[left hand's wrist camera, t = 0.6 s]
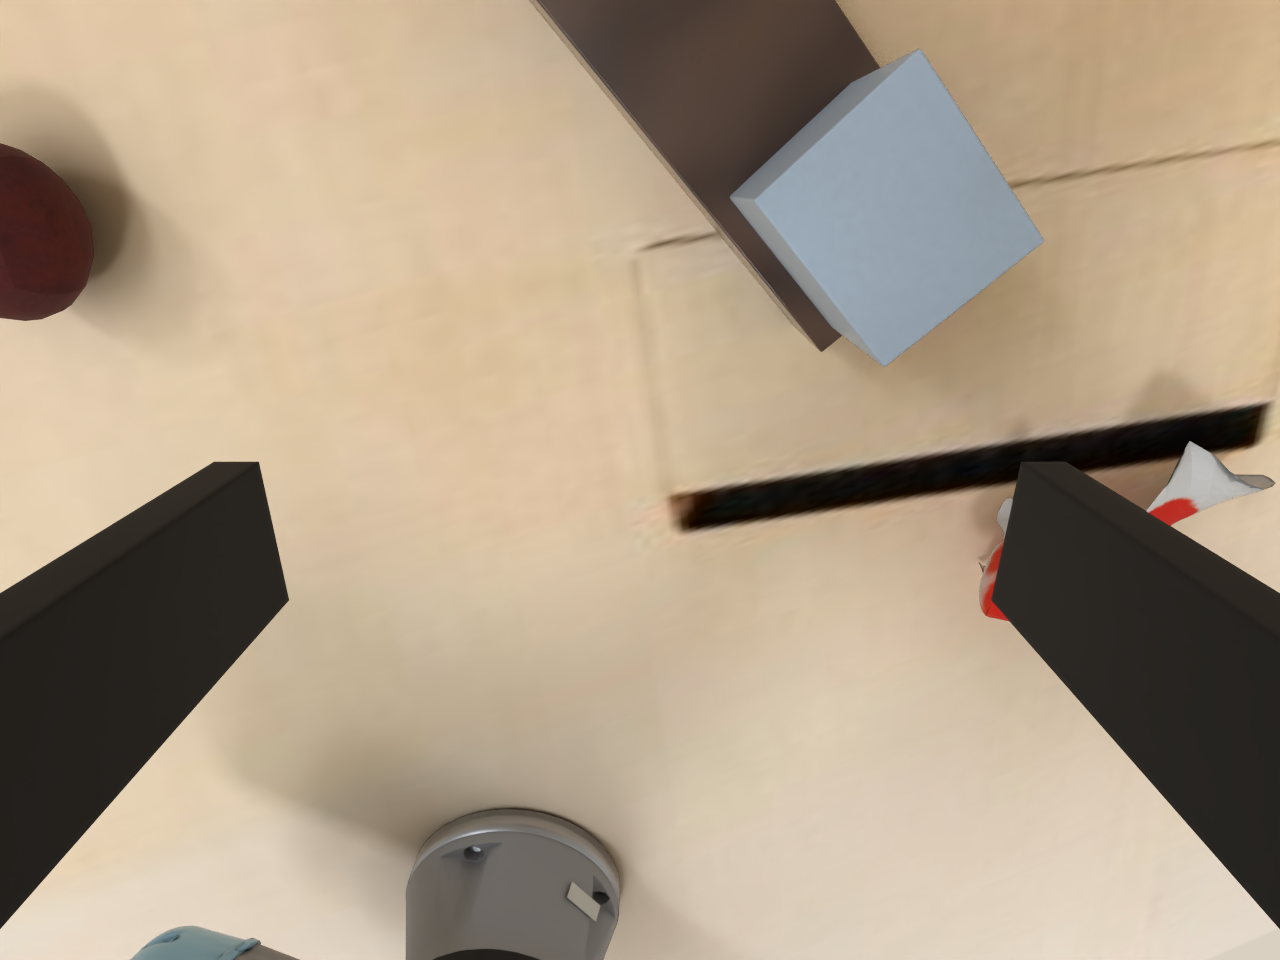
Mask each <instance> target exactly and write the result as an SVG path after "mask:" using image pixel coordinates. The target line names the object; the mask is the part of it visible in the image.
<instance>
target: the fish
mask: <svg viewBox="0 0 1280 960" xmlns="http://www.w3.org/2000/svg"><path fill="white" fill-rule="evenodd" d="M1274 484H1275V482H1274V481H1273V480H1272V479H1271V478H1269V477H1266V476H1264V475H1234V474H1233V473H1231V472H1230V471H1229V470H1228V469H1227V468H1226V467H1225V466H1224V465H1223V464H1222V463H1221V462H1220V461H1219V460H1218V459H1217V458H1216V457H1215V455H1213V454H1211V453H1210V452H1208V451H1206V450H1204V449H1203V448H1201V447H1199V446H1197V445H1196V444H1194V443H1192V442H1191V441H1189V443H1188V445H1187V446H1186V448H1185V450H1184V452H1183V453H1182V455H1181V457H1180V459H1179V461H1178V463H1177V465H1176V468H1175V470H1174V472H1173V474H1172V476H1171V478H1170V480H1169V482H1168V484H1167V485H1166V487H1165V488H1164V489H1163V490H1162V492H1161V493H1160V494H1159V495H1158V497H1157V498H1156V499H1155V501H1154V502H1153V503H1152V504H1151V505H1150V507H1149V508H1148V509H1147V510H1146V511H1147V512H1148V513H1150V514H1151V515H1153V516H1155V517H1156V518H1158V519H1160V520H1161V521H1163V522H1164V523H1166V524H1168V525H1169V526H1171V525H1172V524H1173V523H1175V522H1177V521H1179V520H1181V519H1184V518H1186V517H1189V516H1191V515H1193V514H1195V513H1197V512H1200V511H1202V510H1204V509H1206V508H1208V507H1211V506H1213V505H1216V504H1218V503H1221V502H1224V501H1227V500H1229V499H1232V498H1235V497H1239V496H1243V495H1248V494H1252V493H1255V492H1259V491H1262V490H1264V489H1267V488H1269V487H1272V486H1273V485H1274ZM1012 502H1013V499H1012V498H1007V499H1005V501H1004V502H1003V504H1002V506H1001V508H1000V510H999V512H998V515H997V521H998V524H999V526H1000V527H1001V529H1002V530H1003V533H1004V538H1005V534H1006V529H1007V525H1008V520H1009V516H1010V511H1011V506H1012ZM1003 543H1004V539H1003V540H1002V541H1001V542H1000V543H999V544H997V545H996V547H995V548H994V550H993V551H992V553H991V555H990V557H989V559H988V562H987V564H986V566H982V565H981V564H980V563H979V564H980V566H981V568H982V571H983V576H982V579H981V583H980V589H979V598H980V606H981V609H982V611H983V613H984V614H985V615H986V616H988V617H992V618H997V619H1001V620H1006V621H1009V620H1008V619H1007V618H1006V617H1005V615H1004V614H1003V613H1002V612H1001V611H1000V610H999V609H998V607H997V606H996V605H995V604H994V603H993V602H992V601H991V598H992V593H993V589H994V584H995V580H996V575H997V570H998V566H999V561H1000V557H1001V552H1002V548H1003Z"/></svg>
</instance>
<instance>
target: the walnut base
mask: <svg viewBox="0 0 1280 960" xmlns="http://www.w3.org/2000/svg"><path fill="white" fill-rule="evenodd" d="M529 1H530V2H531V3H532V4H533V6H534V7H535V8H536V9H537V11H538V12H539V13H540V14H541V15H542V17H543V18H544V19H545V20H546V22H547V23H548V24H549V25H550V27H551V28H552V29H553V30H554V31H555V33H556V34H557V35H558V36H559V38H560V39H561V40H562V41H563V43H564V44H565V45H566V46H567V47H568V49H569V50H570V51H571V52H572V54H573V55H574V56H575V57H576V59H577V60H578V61H579V62H580V63H581V65H582V66H583V67H584V68H585V70H586V71H587V72H588V73H589V75H590V76H591V77H592V78H593V79H594V81H595V82H596V83H597V84H598V86H599V87H600V88H601V89H602V91H603V92H604V93H605V94H606V95H607V97H608V98H609V99H610V100H611V102H612V103H613V104H614V105H615V107H616V108H617V109H618V110H619V111H620V113H621V114H622V115H623V116H624V118H625V119H626V120H627V121H628V123H629V124H630V125H631V126H632V127H633V129H634V130H635V131H636V132H637V134H638V135H639V136H640V137H641V139H642V140H643V141H644V142H645V143H646V145H647V146H648V147H649V148H650V150H651V151H652V152H653V153H654V155H655V156H656V157H657V158H658V159H659V161H660V162H661V163H662V164H663V166H664V167H665V168H666V169H667V171H668V172H669V173H670V174H671V175H672V177H673V178H674V179H675V180H676V182H677V183H678V184H679V185H680V187H681V188H682V189H683V190H684V191H685V193H686V194H687V195H688V196H689V198H690V199H691V200H692V201H693V203H694V204H695V205H696V206H697V207H698V209H699V210H700V211H701V212H702V214H703V215H704V216H705V217H706V219H707V220H708V221H709V222H710V223H711V225H712V226H713V227H714V228H715V230H716V231H717V232H718V233H719V235H720V236H721V237H722V238H723V239H724V241H725V242H726V243H727V244H728V246H729V247H730V248H731V249H732V251H733V252H734V253H735V254H736V255H737V257H738V258H739V259H740V260H741V262H742V263H743V264H744V265H745V267H746V268H747V269H748V270H749V271H750V273H751V274H752V275H753V276H754V278H755V279H756V280H757V281H758V283H759V284H760V285H761V286H762V287H763V289H764V290H765V291H766V292H767V294H768V295H769V296H770V297H771V299H772V300H773V301H774V302H775V303H776V305H777V306H778V307H779V308H780V310H781V311H782V312H783V313H784V315H785V316H786V317H787V318H788V319H789V321H790V322H791V323H792V324H793V326H794V327H795V328H796V329H798V330H799V331H800V332H801V333H802V334H803V335H804V336H805V337H806V338H807V339H808V340H809V341H810V342H811V343H812V344H813V345H814V346H815V347H816V348H817V349H818V350H819V351H821V352H822V351H824V350H825V349H826V348H827V347H829V346H830V345H831V344H832V343H833V342H835V341H836V340H837V339H838V338H840V337H841V336H842V335H841V334H840V333H839V332H837V331H836V330H835V329H833V328H832V327H831V325H830V324H829V323H828V322H827V320H826V319H825V318H824V317H823V315H822V314H821V313H820V312H819V310H818V309H817V308H816V307H815V305H814V304H813V303H812V301H811V300H810V299H809V298H808V296H807V295H806V294H805V293H804V291H803V290H802V289H801V288H800V286H799V285H798V284H797V283H796V281H795V280H794V279H793V278H792V276H791V275H790V274H789V272H788V271H787V270H786V269H785V267H784V266H783V265H782V264H781V262H780V261H779V260H778V259H777V257H776V256H775V255H774V254H773V252H772V251H771V250H770V248H769V247H768V246H767V245H766V243H765V242H764V241H763V240H762V238H761V237H760V236H759V235H758V233H757V232H756V231H755V230H754V228H753V227H752V226H751V224H750V223H749V222H748V221H747V219H746V218H745V217H744V216H743V214H742V213H741V212H740V211H739V209H738V208H737V207H736V206H735V204H734V203H733V202H732V201H731V199H730V196H731V195H732V194H733V193H734V192H735V191H736V190H737V189H738V188H739V187H740V186H741V185H742V184H743V183H744V182H746V181H747V180H748V179H749V178H750V177H751V176H752V175H753V174H754V173H755V172H756V171H757V170H758V169H759V168H761V167H762V166H763V165H764V164H765V163H766V162H767V161H768V160H769V159H770V158H771V157H772V156H773V155H774V154H776V153H777V152H778V151H779V150H780V149H781V148H782V147H783V146H784V145H785V144H786V143H787V142H788V141H789V140H791V139H792V138H793V137H794V136H795V135H796V134H797V133H798V132H799V131H800V130H801V129H802V128H803V127H804V126H806V125H807V124H808V123H809V122H810V121H811V120H812V119H813V118H814V117H815V116H816V115H817V114H818V113H819V112H821V111H822V110H823V109H824V108H825V107H826V106H827V105H828V104H829V103H830V102H831V101H832V100H833V99H834V98H836V97H837V96H838V95H839V94H840V93H841V92H842V91H843V90H844V89H845V88H846V87H847V86H848V85H849V84H851V83H852V82H854V81H856V80H858V79H860V78H862V77H864V76H866V75H868V74H870V73H872V72H874V71H875V70H877V69H879V68H880V67H879V65H878V64H877V62H876V61H875V59H874V58H873V56H872V55H871V53H870V52H869V50H868V49H867V47H866V46H865V44H864V43H863V41H862V40H861V38H860V37H859V35H858V34H857V32H856V31H855V29H854V28H853V26H852V25H851V23H850V22H849V20H848V19H847V17H846V16H845V14H844V13H843V11H842V10H841V8H840V7H839V5H838V4H837V2H836V1H835V0H529Z"/></svg>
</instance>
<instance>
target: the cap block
mask: <svg viewBox="0 0 1280 960" xmlns="http://www.w3.org/2000/svg"><path fill="white" fill-rule="evenodd" d="M730 199H731V201H732V202H733V203H734V204H735V206H736V207H737V208H738V209H739V211H740V212H741V213H742V214H743V216H744V217H745V218H746V219H747V221H748V222H749V223H750V224H751V226H752V227H753V228H754V230H755V231H756V232H757V233H758V235H759V236H760V237H761V238H762V240H763V241H764V242H765V243H766V245H767V246H768V247H769V248H770V250H771V251H772V252H773V254H774V255H775V256H776V257H777V259H778V260H779V261H780V262H781V264H782V265H783V266H784V267H785V269H786V270H787V271H788V272H789V274H790V275H791V276H792V278H793V279H794V280H795V281H796V283H797V284H798V285H799V286H800V288H801V289H802V290H803V291H804V293H805V294H806V295H807V296H808V298H809V299H810V300H811V301H812V303H813V304H814V305H815V307H816V308H817V309H818V310H819V312H820V313H821V314H822V315H823V317H824V318H825V319H826V320H827V322H828V323H829V324H830V325H831V327H832V328H833V329H835V330H836V331H837V332H839V333H840V334H841V335H843V336H844V337H845V338H847V339H848V340H849V341H850V342H852V343H853V344H854V345H856V346H857V347H858V348H860V349H861V350H862V351H863V352H865V353H866V354H867V355H869V356H870V357H871V358H873V359H874V360H875V361H877V362H878V363H879V364H880V365H882V366H884V367H885V366H887V365H888V364H889V363H890V362H892V361H893V360H894V359H896V358H897V357H898V356H899V355H901V354H902V353H903V352H904V351H906V350H907V349H908V348H909V347H911V346H912V345H913V344H915V343H916V342H917V341H918V340H920V339H921V338H922V337H923V336H925V335H926V334H927V333H929V332H930V331H931V330H932V329H934V328H935V327H936V326H937V325H939V324H940V323H941V322H942V321H944V320H945V319H946V318H948V317H949V316H950V315H951V314H953V313H954V312H955V311H956V310H958V309H959V308H960V307H962V306H963V305H964V304H965V303H967V302H968V301H969V300H970V299H972V298H973V297H974V296H975V295H977V294H978V293H979V292H981V291H982V290H983V289H984V288H986V287H987V286H988V285H989V284H991V283H992V282H993V281H995V280H996V279H997V278H998V277H1000V276H1001V275H1002V274H1003V273H1005V272H1006V271H1007V270H1009V269H1010V268H1011V267H1012V266H1014V265H1015V264H1016V263H1017V262H1019V261H1020V260H1021V259H1022V258H1024V257H1025V256H1026V255H1028V254H1029V253H1030V252H1031V251H1033V250H1034V249H1035V248H1036V247H1038V246H1039V245H1040V244H1042V243H1043V241H1044V239H1043V237H1042V236H1041V234H1040V233H1039V231H1038V230H1037V228H1036V227H1035V225H1034V223H1033V222H1032V220H1031V219H1030V217H1029V216H1028V214H1027V213H1026V211H1025V210H1024V208H1023V206H1022V205H1021V203H1020V202H1019V200H1018V199H1017V197H1016V196H1015V194H1014V193H1013V191H1012V189H1011V188H1010V186H1009V185H1008V183H1007V182H1006V180H1005V179H1004V177H1003V175H1002V174H1001V172H1000V171H999V169H998V168H997V166H996V165H995V163H994V162H993V160H992V158H991V157H990V155H989V154H988V152H987V151H986V149H985V148H984V146H983V145H982V143H981V141H980V140H979V138H978V137H977V135H976V134H975V132H974V131H973V129H972V127H971V126H970V124H969V123H968V121H967V120H966V118H965V117H964V115H963V114H962V112H961V110H960V109H959V107H958V106H957V104H956V103H955V101H954V100H953V98H952V96H951V95H950V93H949V92H948V90H947V89H946V87H945V86H944V84H943V83H942V81H941V79H940V78H939V76H938V75H937V73H936V72H935V70H934V69H933V67H932V66H931V64H930V62H929V61H928V59H927V58H926V56H925V55H924V53H923V52H922V50H921V49H917V50H915V51H913V52H911V53H909V54H907V55H905V56H903V57H901V58H899V59H897V60H895V61H893V62H891V63H889V64H887V65H885V66H883V67H881V68H879V69H877V70H875V71H874V72H872V73H870V74H868V75H866V76H864V77H862V78H860V79H858V80H856V81H854V82H852V83H851V84H849V85H848V86H847V87H846V88H845V89H844V90H843V91H842V92H841V93H840V94H839V95H838V96H837V97H836V98H834V99H833V100H832V101H831V102H830V103H829V104H828V105H827V106H826V107H825V108H824V109H823V110H822V111H821V112H819V113H818V114H817V115H816V116H815V117H814V118H813V119H812V120H811V121H810V122H809V123H808V124H807V125H806V126H804V127H803V128H802V129H801V130H800V131H799V132H798V133H797V134H796V135H795V136H794V137H793V138H792V139H791V140H789V141H788V142H787V143H786V144H785V145H784V146H783V147H782V148H781V149H780V150H779V151H778V152H777V153H776V154H774V155H773V156H772V157H771V158H770V159H769V160H768V161H767V162H766V163H765V164H764V165H763V166H762V167H761V168H759V169H758V170H757V171H756V172H755V173H754V174H753V175H752V176H751V177H750V178H749V179H748V180H747V181H746V182H744V183H743V184H742V185H741V186H740V187H739V188H738V189H737V190H736V191H735V192H734V193H733V194H732V195H731V196H730Z"/></svg>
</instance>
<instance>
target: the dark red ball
mask: <svg viewBox="0 0 1280 960" xmlns="http://www.w3.org/2000/svg"><path fill="white" fill-rule="evenodd" d="M93 257H94V250H93V241H92V232H91V224H90V222H89V220H88V218H87V216H86V214H85V211H84V209H83V207H82V205H81V203H80V201H79V199H78V198H77V197H76V195H75V194H74V193H73V192H72V190H71V189H70V188H69V186H68V185H67V184H66V183H65V181H63V180H62V179H61V178H60V177H59V176H58V175H57V174H56V173H54V172H53V171H52V170H51V169H50V168H49V167H48V166H46V165H45V164H44V163H42V162H40V161H39V160H37V159H35V158H34V157H32V156H30V155H28V154H27V153H25V152H23V151H22V150H19V149H16V148H13V147H10V146H7V145H4V144H1V143H0V318H6V319H14V320H23V321H28V320H38V319H43V318H46V317H48V316H51V315H53V314H56V313H58V312H60V311H63V310H65V309H66V308H67V307H69V306H70V305H72V303H73V302H74V301H75V299H76V298H77V297H78V295H79V294H80V293H81V291H82V290H83V289H84V287H85V286H86V284H87V280H88V276H89V272H90V268H91V264H92V260H93Z"/></svg>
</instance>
